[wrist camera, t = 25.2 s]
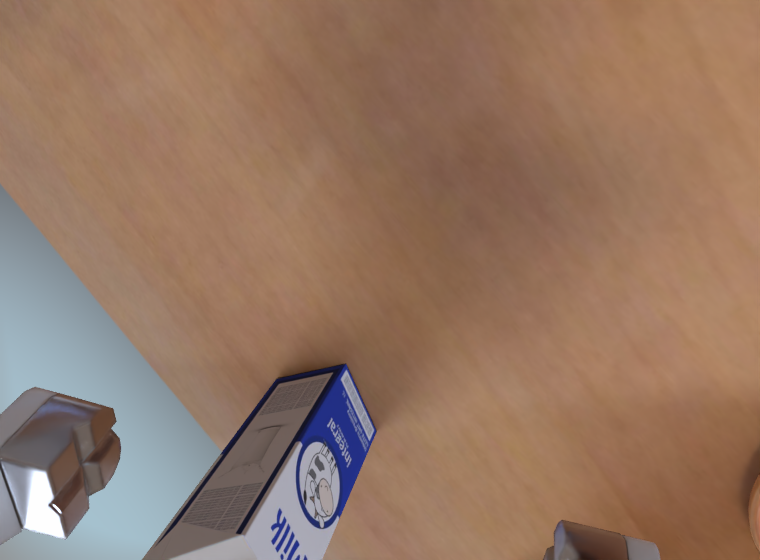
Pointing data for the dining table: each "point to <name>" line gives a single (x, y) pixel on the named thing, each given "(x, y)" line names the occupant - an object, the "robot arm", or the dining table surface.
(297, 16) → the dining table surface
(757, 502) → the saucer
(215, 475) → the milk carton
